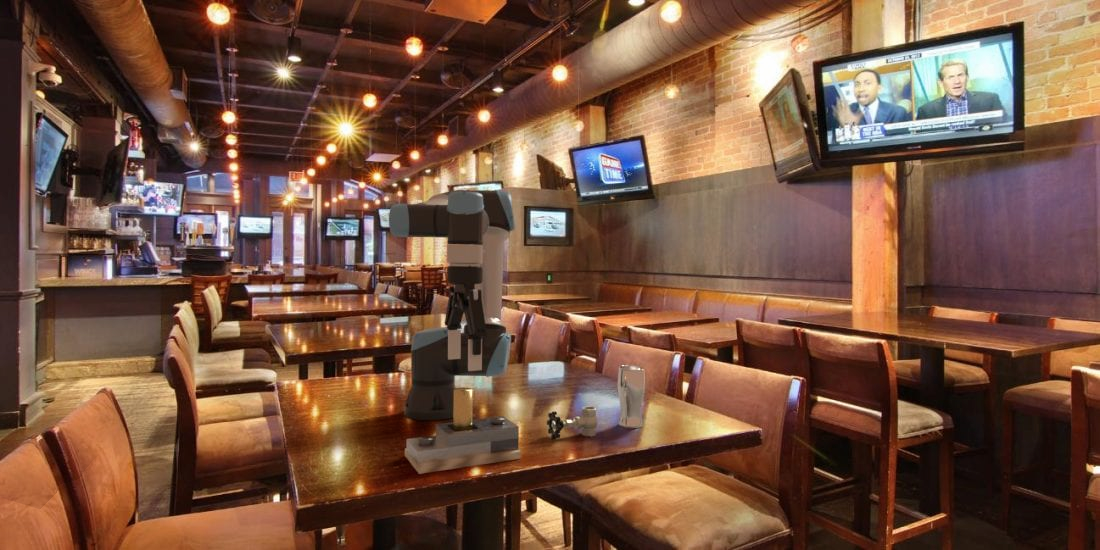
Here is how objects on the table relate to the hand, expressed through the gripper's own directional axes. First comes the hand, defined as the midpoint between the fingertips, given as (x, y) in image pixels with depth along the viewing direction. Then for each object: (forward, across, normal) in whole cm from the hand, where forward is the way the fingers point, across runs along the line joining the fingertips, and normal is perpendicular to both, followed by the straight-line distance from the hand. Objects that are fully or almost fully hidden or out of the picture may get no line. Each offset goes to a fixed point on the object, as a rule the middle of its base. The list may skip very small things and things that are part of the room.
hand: (464, 364), depth 127 cm
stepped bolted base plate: (+18, 0, 0) cm, 18 cm away
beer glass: (+20, +5, -47) cm, 52 cm away
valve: (+20, +3, -29) cm, 36 cm away
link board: (+20, 0, 0) cm, 20 cm away
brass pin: (+18, 0, 0) cm, 18 cm away
